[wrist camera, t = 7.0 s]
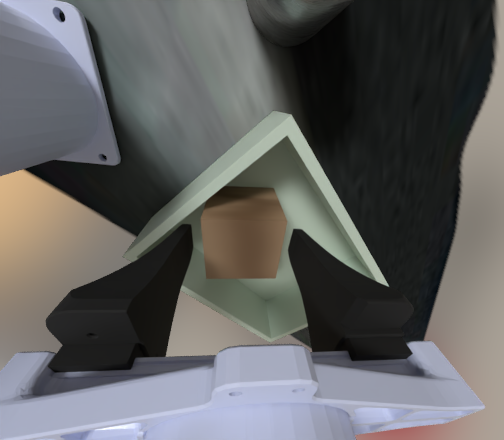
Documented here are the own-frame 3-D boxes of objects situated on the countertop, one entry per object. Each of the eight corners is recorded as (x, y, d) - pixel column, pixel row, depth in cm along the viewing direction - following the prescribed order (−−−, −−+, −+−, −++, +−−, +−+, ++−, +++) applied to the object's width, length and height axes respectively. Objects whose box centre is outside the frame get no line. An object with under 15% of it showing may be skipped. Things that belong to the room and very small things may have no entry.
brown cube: (214, 235, 17) (206, 278, 13) (211, 185, 14) (200, 219, 10) (266, 236, 18) (275, 278, 13) (273, 187, 15) (287, 221, 11)
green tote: (152, 216, 16) (122, 256, 12) (273, 110, 12) (291, 114, 8) (264, 301, 24) (269, 342, 20) (359, 251, 20) (391, 290, 16)
